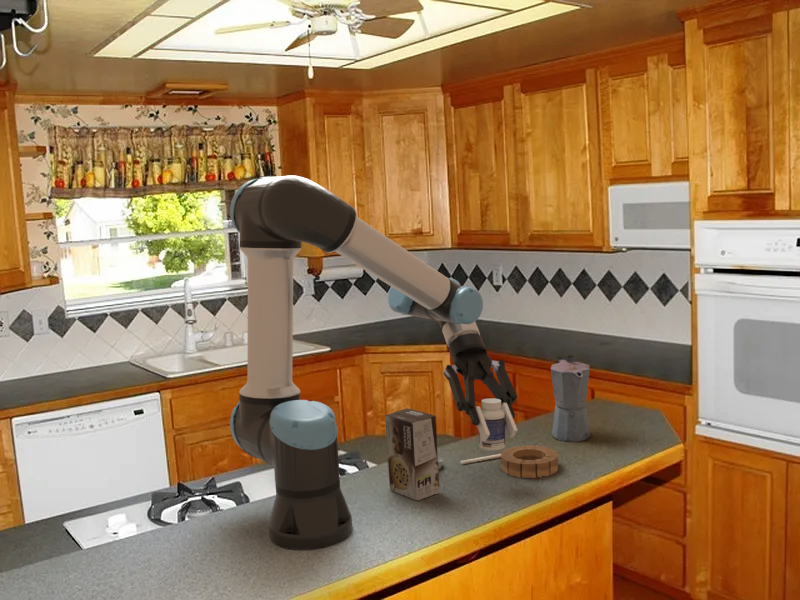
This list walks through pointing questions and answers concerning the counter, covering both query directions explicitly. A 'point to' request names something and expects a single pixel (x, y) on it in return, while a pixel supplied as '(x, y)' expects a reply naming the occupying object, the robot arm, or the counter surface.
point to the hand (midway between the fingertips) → (500, 435)
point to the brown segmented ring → (529, 461)
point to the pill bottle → (493, 424)
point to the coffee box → (412, 453)
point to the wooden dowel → (481, 459)
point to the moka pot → (570, 400)
